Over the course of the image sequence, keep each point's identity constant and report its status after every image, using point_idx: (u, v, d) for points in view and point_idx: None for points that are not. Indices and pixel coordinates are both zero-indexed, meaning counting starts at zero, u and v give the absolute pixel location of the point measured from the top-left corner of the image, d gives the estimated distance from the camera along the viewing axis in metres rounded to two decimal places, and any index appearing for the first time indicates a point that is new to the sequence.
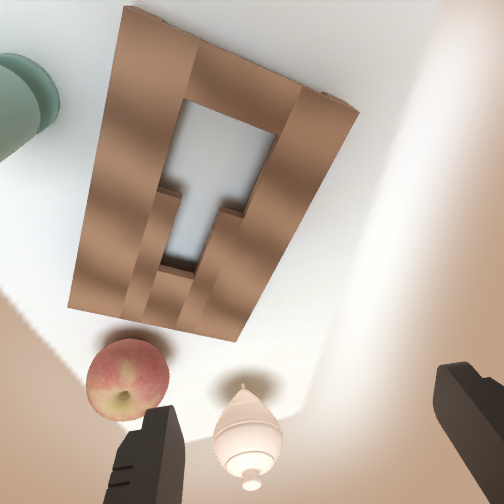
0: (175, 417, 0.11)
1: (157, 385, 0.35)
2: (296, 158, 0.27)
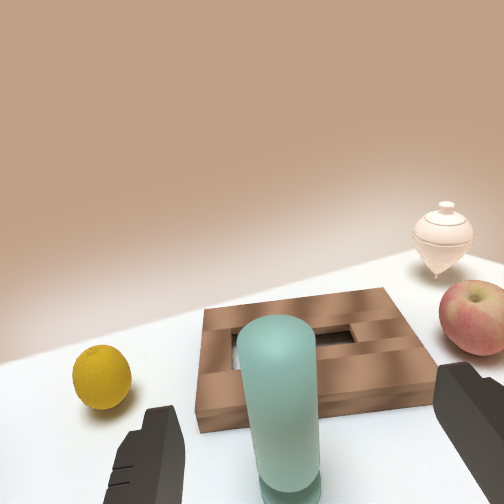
0: (175, 417, 0.11)
1: (446, 291, 0.42)
2: (238, 317, 0.46)
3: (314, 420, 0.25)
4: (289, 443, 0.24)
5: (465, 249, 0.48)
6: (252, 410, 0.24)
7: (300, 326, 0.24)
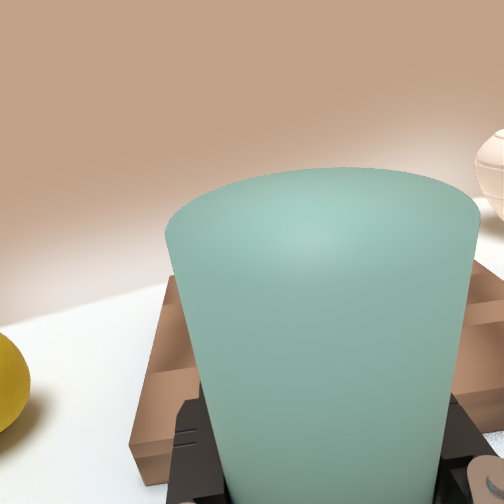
0: None
1: None
2: None
3: (433, 492, 0.08)
4: None
5: None
6: (231, 469, 0.07)
7: (390, 179, 0.07)
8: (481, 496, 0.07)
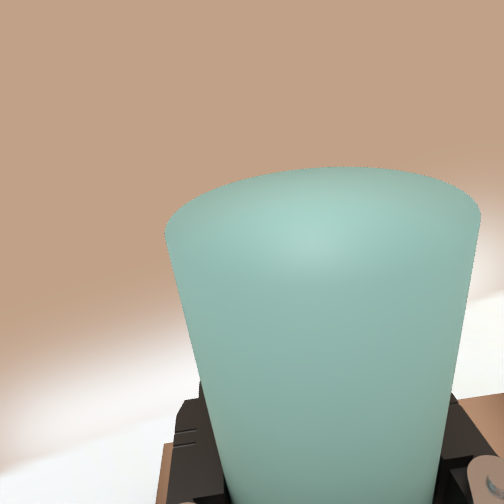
0: None
1: None
2: None
3: (433, 491, 0.08)
4: None
5: None
6: (231, 469, 0.07)
7: (390, 178, 0.07)
8: (481, 496, 0.07)
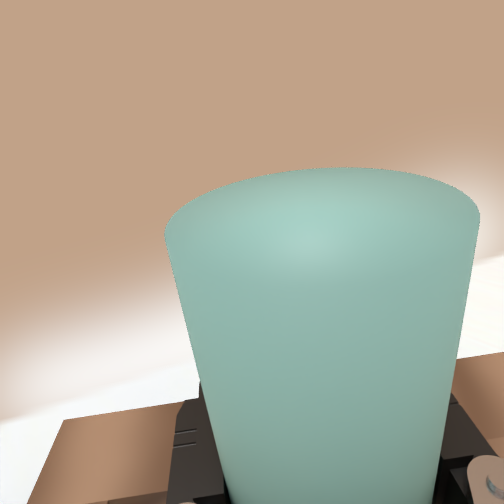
0: None
1: None
2: (140, 455, 0.17)
3: None
4: None
5: None
6: (231, 469, 0.07)
7: (390, 179, 0.07)
8: (481, 496, 0.07)
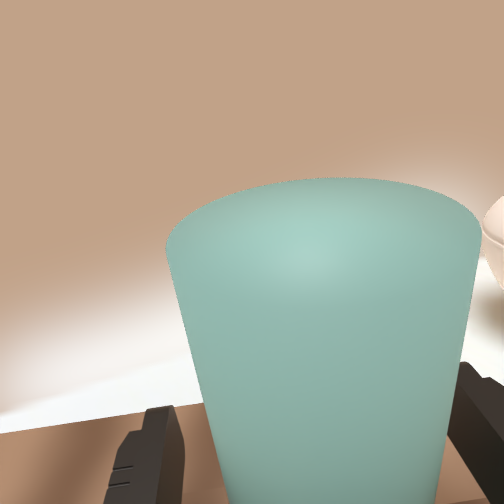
0: (175, 417, 0.11)
1: None
2: (38, 475, 0.17)
3: None
4: None
5: None
6: (232, 481, 0.07)
7: (391, 191, 0.07)
8: None
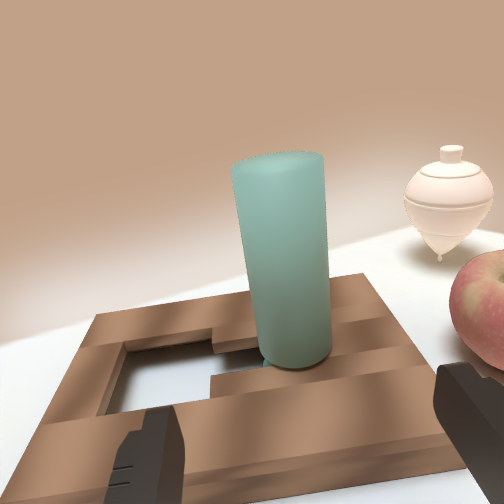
0: (175, 417, 0.11)
1: (460, 270, 0.26)
2: (141, 325, 0.30)
3: (325, 269, 0.21)
4: (297, 292, 0.20)
5: (482, 212, 0.33)
6: (251, 254, 0.20)
7: (305, 154, 0.20)
8: None
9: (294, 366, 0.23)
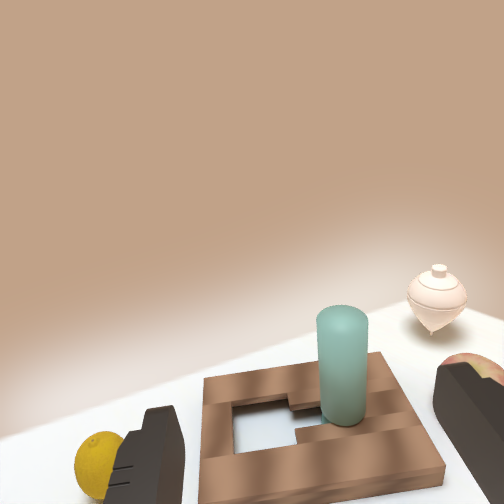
0: (175, 417, 0.11)
1: (442, 363, 0.42)
2: (238, 388, 0.47)
3: (365, 373, 0.38)
4: (351, 388, 0.37)
5: (459, 312, 0.49)
6: (326, 367, 0.37)
7: (356, 312, 0.37)
8: None
9: (345, 425, 0.40)
